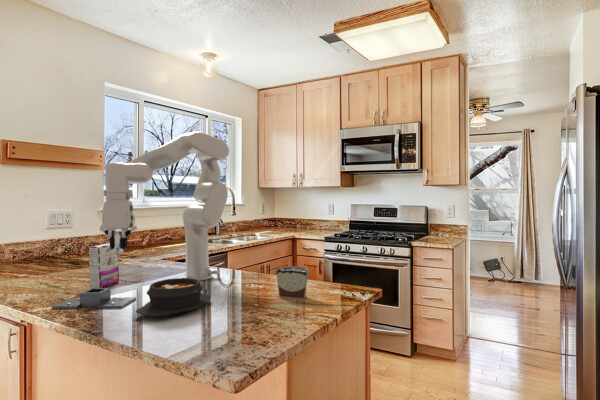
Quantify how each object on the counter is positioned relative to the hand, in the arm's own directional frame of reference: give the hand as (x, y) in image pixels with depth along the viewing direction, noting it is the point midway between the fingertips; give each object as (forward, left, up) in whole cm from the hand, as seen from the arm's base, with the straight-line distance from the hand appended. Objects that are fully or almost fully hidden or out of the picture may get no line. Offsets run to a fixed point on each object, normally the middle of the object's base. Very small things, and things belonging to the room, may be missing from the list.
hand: (118, 248), depth 136 cm
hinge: (+3, +10, -17) cm, 20 cm away
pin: (0, 0, -2) cm, 2 cm away
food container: (-63, +1, -17) cm, 66 cm away
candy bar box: (+14, -16, -17) cm, 27 cm away
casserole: (-26, +16, -18) cm, 35 cm away
